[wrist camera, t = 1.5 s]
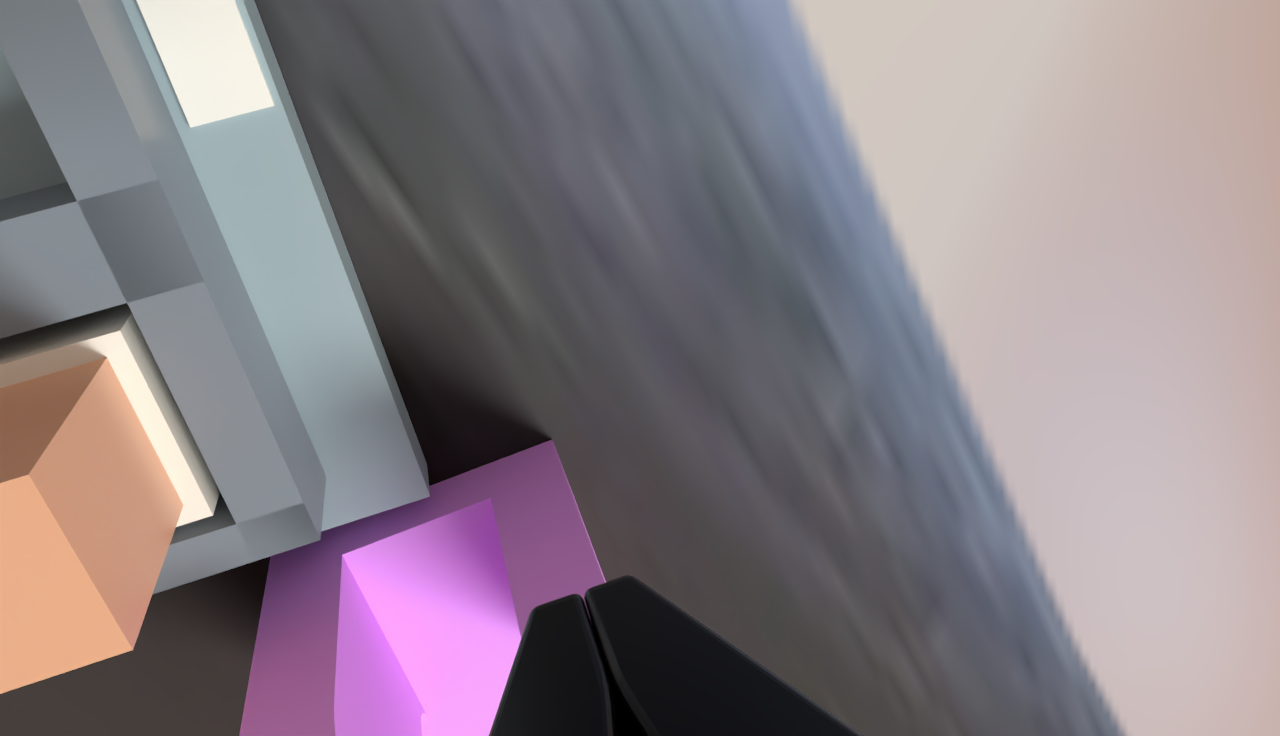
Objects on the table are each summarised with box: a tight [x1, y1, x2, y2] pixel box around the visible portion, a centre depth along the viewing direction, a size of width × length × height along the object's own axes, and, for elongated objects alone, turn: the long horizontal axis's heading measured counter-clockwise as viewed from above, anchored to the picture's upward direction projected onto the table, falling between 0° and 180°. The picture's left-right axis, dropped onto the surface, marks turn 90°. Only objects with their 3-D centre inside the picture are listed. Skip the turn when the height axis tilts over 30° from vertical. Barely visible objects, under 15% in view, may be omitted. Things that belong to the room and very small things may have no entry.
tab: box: [0, 303, 220, 694], centre depth 12 cm, size 3×3×5 cm
